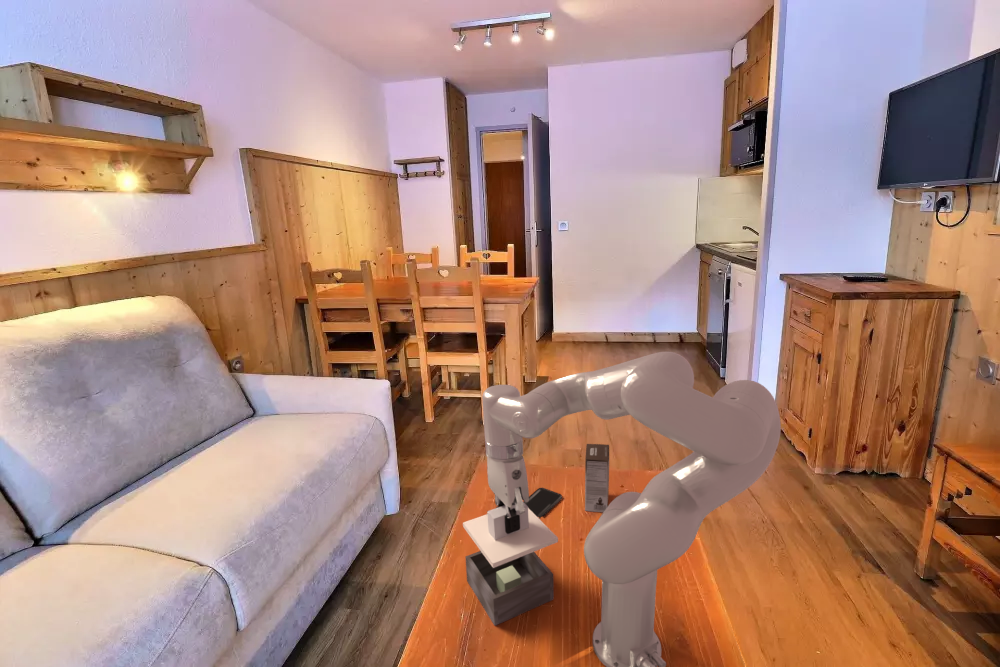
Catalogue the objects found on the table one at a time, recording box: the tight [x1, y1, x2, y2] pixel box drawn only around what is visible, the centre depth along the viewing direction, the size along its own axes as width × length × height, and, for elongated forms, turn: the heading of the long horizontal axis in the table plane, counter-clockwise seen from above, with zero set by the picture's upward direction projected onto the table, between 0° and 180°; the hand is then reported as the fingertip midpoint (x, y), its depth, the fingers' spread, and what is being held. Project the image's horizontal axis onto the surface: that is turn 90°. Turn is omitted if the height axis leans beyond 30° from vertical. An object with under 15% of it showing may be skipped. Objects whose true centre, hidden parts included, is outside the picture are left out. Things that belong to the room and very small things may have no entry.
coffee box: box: [584, 443, 610, 513], centre depth 136 cm, size 9×6×16 cm
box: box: [465, 550, 555, 626], centre depth 107 cm, size 14×14×7 cm
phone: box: [523, 487, 563, 520], centre depth 138 cm, size 8×1×15 cm
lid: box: [462, 501, 559, 568], centre depth 103 cm, size 15×15×6 cm
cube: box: [496, 566, 521, 593], centre depth 107 cm, size 4×4×4 cm
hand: (508, 525), depth 103 cm, fingers closed on lid, 3 cm apart
